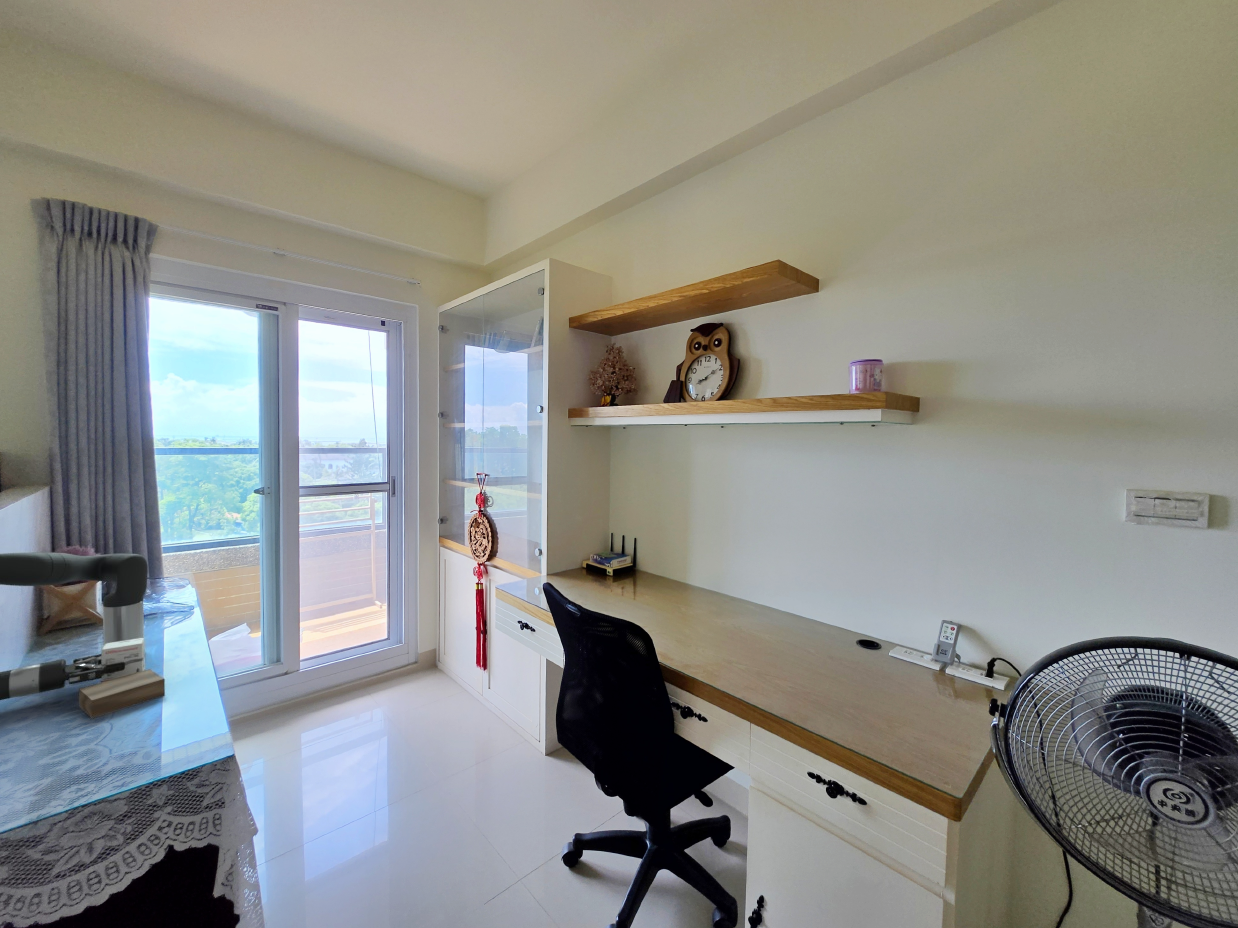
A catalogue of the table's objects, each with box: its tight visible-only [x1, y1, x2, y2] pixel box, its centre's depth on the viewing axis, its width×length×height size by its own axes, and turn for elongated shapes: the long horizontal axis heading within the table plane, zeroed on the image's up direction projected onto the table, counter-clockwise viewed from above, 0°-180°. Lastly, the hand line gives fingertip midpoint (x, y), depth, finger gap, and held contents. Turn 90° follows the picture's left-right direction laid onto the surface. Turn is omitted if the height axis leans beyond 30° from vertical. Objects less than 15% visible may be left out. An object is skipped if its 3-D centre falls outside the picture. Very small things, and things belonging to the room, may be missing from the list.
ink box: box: [100, 637, 146, 683], centre depth 142 cm, size 9×5×12 cm, turn 128°
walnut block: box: [78, 668, 166, 719], centre depth 133 cm, size 11×14×5 cm
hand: (125, 660), depth 142 cm, fingers open, 8 cm apart
